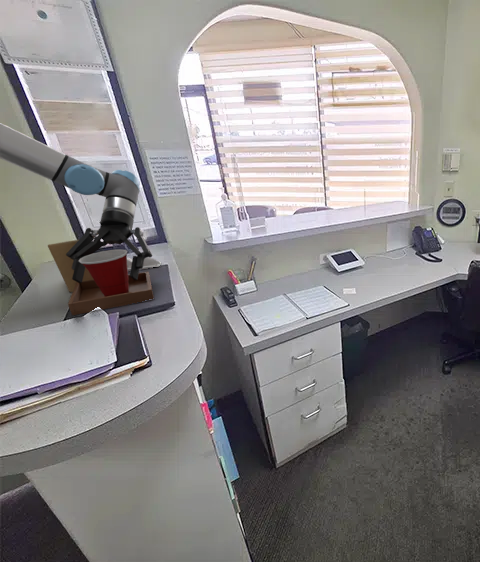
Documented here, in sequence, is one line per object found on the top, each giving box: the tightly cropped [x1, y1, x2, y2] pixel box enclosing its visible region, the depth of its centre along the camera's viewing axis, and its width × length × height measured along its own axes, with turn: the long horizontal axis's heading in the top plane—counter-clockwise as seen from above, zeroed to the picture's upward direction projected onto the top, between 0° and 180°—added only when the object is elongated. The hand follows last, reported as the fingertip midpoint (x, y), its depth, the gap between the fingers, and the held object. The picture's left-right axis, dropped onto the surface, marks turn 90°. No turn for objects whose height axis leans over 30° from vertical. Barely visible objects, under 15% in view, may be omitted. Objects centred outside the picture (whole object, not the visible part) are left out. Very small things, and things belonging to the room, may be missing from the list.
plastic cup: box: [79, 248, 129, 297], centre depth 88 cm, size 11×11×12 cm
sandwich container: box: [47, 239, 94, 293], centre depth 97 cm, size 9×15×15 cm, turn 43°
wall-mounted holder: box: [127, 256, 162, 272], centre depth 111 cm, size 6×5×20 cm
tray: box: [67, 271, 155, 316], centre depth 90 cm, size 18×18×3 cm
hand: (105, 279), depth 87 cm, fingers open, 13 cm apart
